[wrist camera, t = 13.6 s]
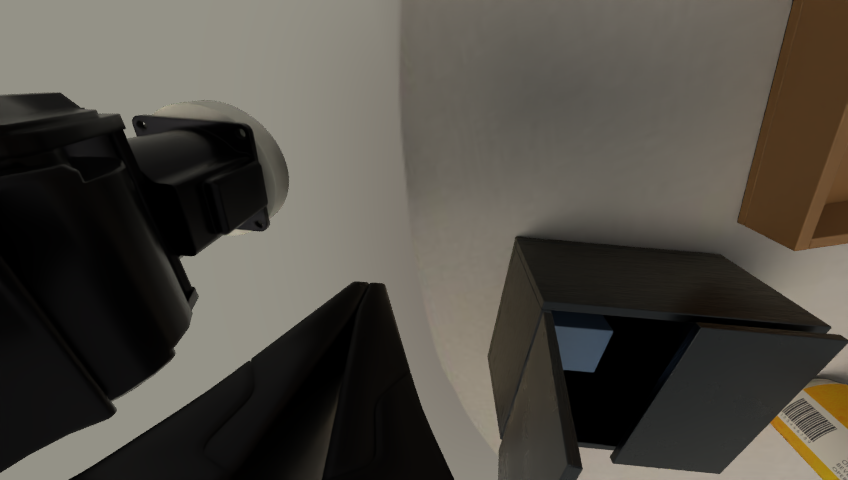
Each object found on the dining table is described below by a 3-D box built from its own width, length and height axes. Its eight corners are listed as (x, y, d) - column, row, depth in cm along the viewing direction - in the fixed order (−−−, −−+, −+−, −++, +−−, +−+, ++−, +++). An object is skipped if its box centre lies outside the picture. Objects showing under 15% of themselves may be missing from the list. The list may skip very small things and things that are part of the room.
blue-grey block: (514, 328, 23) (525, 366, 20) (525, 289, 21) (538, 324, 18) (574, 334, 23) (594, 373, 20) (590, 295, 21) (614, 331, 18)
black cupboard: (487, 356, 25) (502, 453, 19) (515, 236, 20) (549, 313, 14) (649, 371, 25) (721, 474, 19) (720, 254, 20) (853, 340, 13)
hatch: (505, 451, 19) (498, 449, 19) (552, 313, 14) (543, 311, 14) (504, 604, 13) (495, 601, 13) (583, 469, 8) (567, 465, 8)
